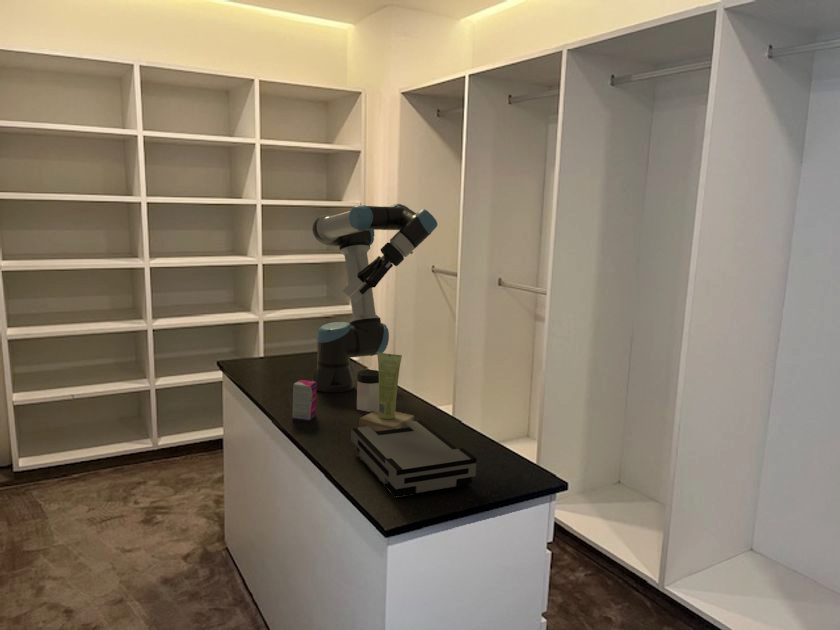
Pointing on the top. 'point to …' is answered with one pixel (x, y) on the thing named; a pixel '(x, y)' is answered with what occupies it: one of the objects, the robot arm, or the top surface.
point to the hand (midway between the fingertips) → (348, 296)
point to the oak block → (384, 421)
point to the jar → (368, 390)
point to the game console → (413, 458)
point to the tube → (388, 383)
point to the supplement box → (304, 400)
